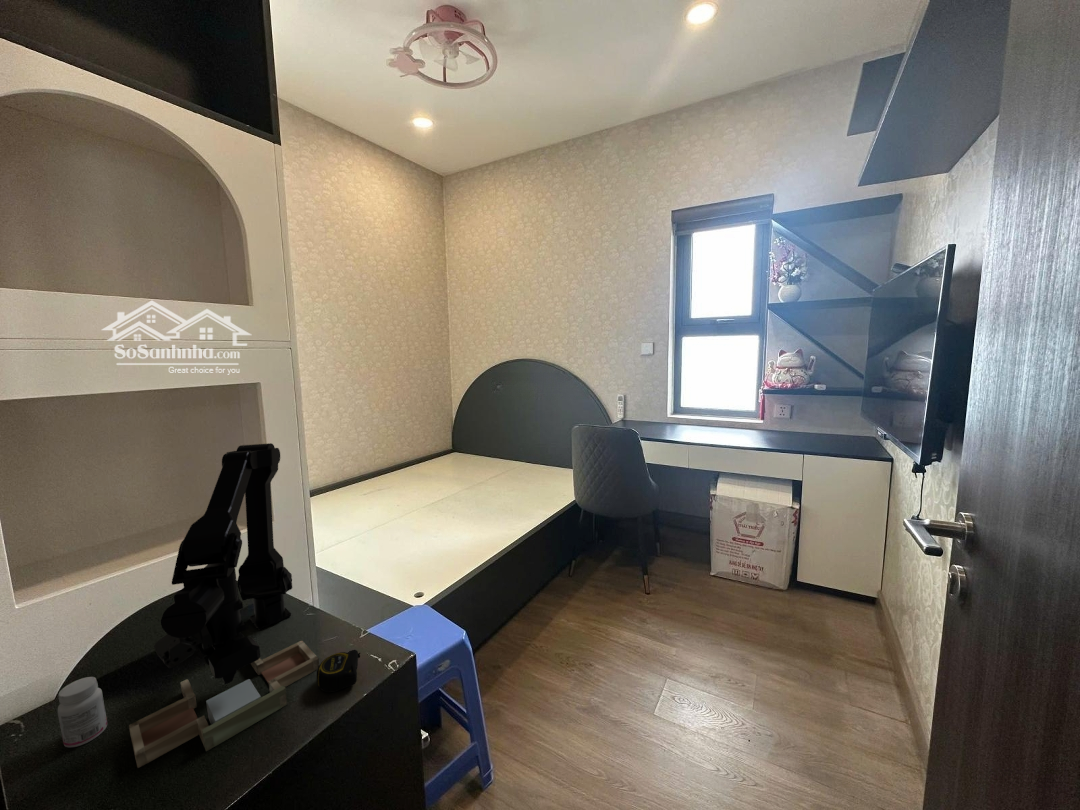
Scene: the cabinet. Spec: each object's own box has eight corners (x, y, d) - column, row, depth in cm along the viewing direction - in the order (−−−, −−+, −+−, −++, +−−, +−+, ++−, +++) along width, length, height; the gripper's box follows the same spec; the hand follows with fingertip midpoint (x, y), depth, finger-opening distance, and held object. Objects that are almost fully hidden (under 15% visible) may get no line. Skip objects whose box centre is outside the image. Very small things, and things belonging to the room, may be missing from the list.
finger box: (126, 719, 69) (124, 702, 69) (293, 639, 88) (291, 625, 87) (142, 788, 58) (139, 769, 57) (329, 679, 76) (328, 664, 76)
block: (208, 720, 69) (206, 700, 68) (251, 697, 73) (249, 678, 73) (218, 741, 65) (215, 720, 64) (262, 715, 69) (260, 696, 69)
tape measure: (357, 691, 74) (355, 671, 74) (313, 701, 72) (312, 681, 71) (361, 664, 80) (359, 646, 80) (321, 672, 78) (319, 654, 78)
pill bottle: (76, 727, 68) (68, 679, 67) (114, 718, 69) (107, 670, 68) (55, 753, 63) (45, 702, 62) (96, 742, 65) (88, 692, 64)
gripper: (146, 601, 73) (158, 683, 75) (166, 649, 61) (180, 745, 63) (224, 574, 81) (233, 649, 83) (256, 611, 69) (266, 698, 71)
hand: (228, 681), depth 75 cm, fingers closed
